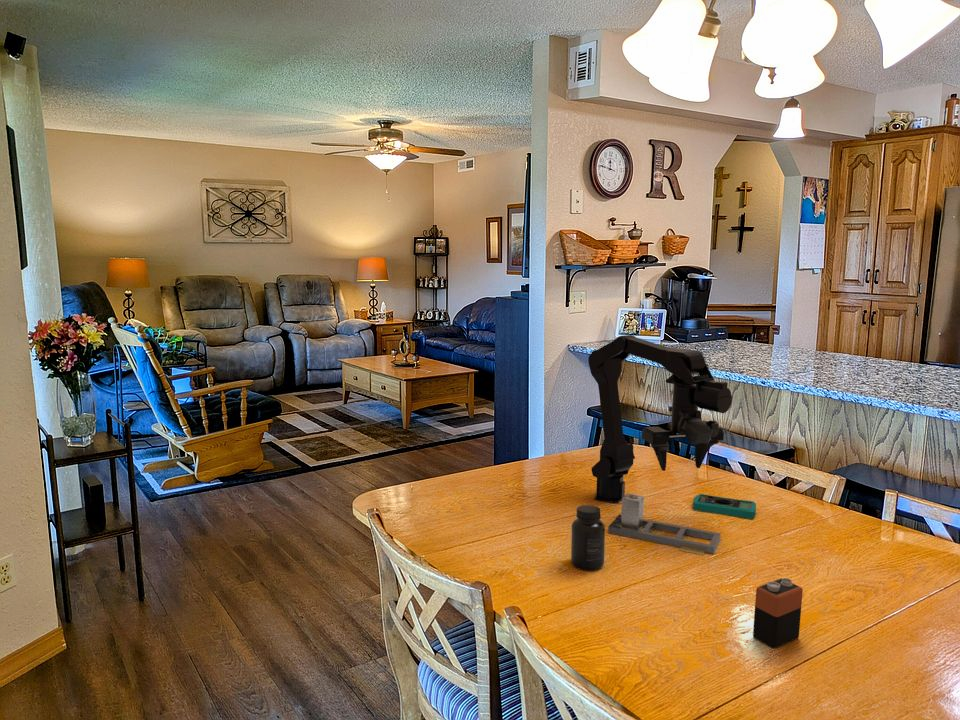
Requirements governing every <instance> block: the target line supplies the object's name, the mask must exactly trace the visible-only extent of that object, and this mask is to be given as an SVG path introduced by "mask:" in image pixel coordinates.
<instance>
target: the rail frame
mask: <svg viewBox="0 0 960 720" xmlns="http://www.w3.org/2000/svg"><path fill="white" fill-rule="evenodd" d="M654 530H657V531H663V532H669V533H673V534H676V535H675V537H673V536H668V535H664V534H659V533H654V532H653V531H654ZM607 531H608V534H612V535H617V536H621V537H622V536H623V537H627V538H632V539H638V540H642V541H648V542H651V543H658V544H662V545H665V546H666V545H667V546H671V547H677V548H679V551H681V552H687V553H691V554H695V555H700V556H704V555H705V554H711V555H715V553H716V551H717V549H718V546H719V544H720V542H721V537H722V535H721V534H722V533H720V532H717V531H716V532H715V531H711V530H706V529H705V530H704V529H699V528H694V527H690V526H684V525H678V524H673V523H668V522H661V521H657V520H652V519H646V518H643V529H642V530H641V531H639V530H634V529H629V528H624V527H621V514H620V513H619V514H618V515H617V516H616V518H615V519H613V521H612V522H611V523H610V524H609V525H608V527H607ZM686 536H689V537H695V538H698V539H699V538H700V539H704V540H709V541H710V542H709V543H703V542H701V541H700V542H699V541H694V540H689V539H685V537H686Z"/></svg>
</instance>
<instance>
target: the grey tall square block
mask: <svg viewBox="0 0 960 720" xmlns="http://www.w3.org/2000/svg"><path fill="white" fill-rule="evenodd" d="M644 501H645V496H644V495H639V494H634V493H629V492H628V493H625V496H624V497H623V498H622V499H621V514H620V515H621V525H620V527H624V528H629V529H634V530H639V531H642V530H643V529H644V527H643V519H644V507H645V506H644V505H645V503H644Z"/></svg>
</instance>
